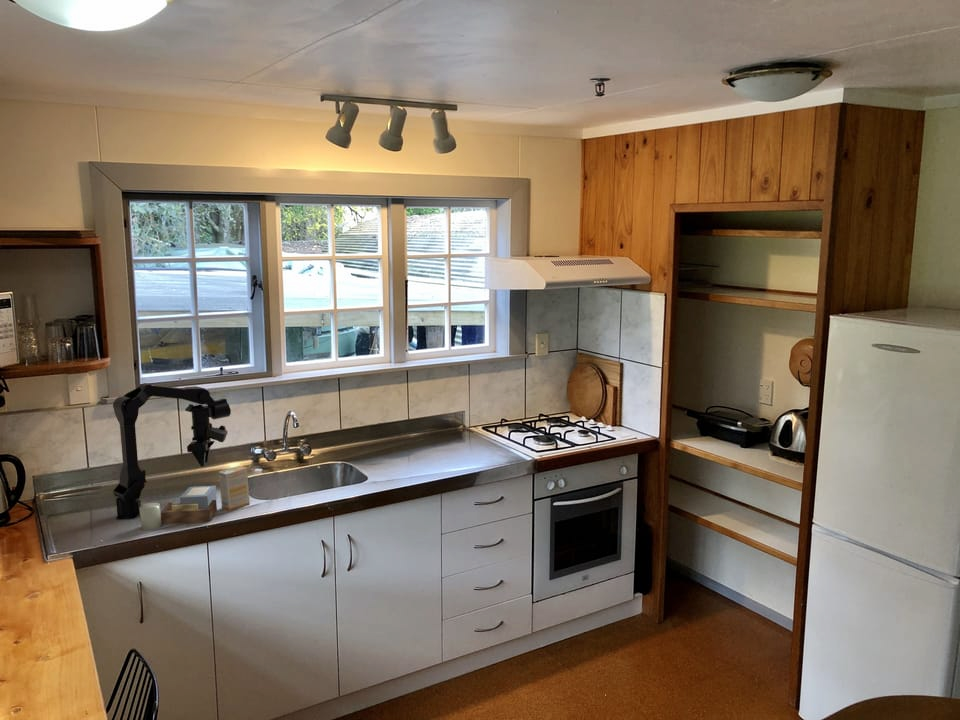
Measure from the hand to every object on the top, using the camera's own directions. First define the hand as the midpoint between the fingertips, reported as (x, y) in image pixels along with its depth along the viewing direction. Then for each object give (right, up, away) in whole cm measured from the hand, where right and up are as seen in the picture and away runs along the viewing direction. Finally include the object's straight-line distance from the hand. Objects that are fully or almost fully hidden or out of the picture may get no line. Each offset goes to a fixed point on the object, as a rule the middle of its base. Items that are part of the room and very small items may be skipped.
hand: (204, 464), depth 271 cm
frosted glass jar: (-6, -16, -29) cm, 34 cm away
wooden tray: (+3, -15, -22) cm, 26 cm away
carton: (+2, -13, -9) cm, 16 cm away
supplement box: (+15, -13, -11) cm, 23 cm away
